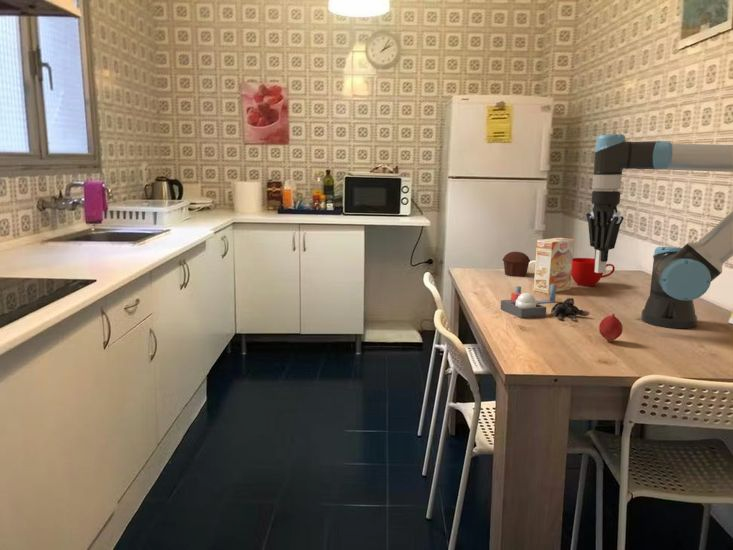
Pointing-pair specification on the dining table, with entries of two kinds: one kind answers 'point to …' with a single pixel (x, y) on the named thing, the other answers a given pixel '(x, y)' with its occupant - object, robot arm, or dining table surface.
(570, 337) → the dining table surface
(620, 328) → the onion
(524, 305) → the dome
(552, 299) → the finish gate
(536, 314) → the dome base
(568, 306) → the stuffed animal
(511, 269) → the muffin
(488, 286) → the dining table surface
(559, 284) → the coffeecake box
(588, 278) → the ceramic cup
